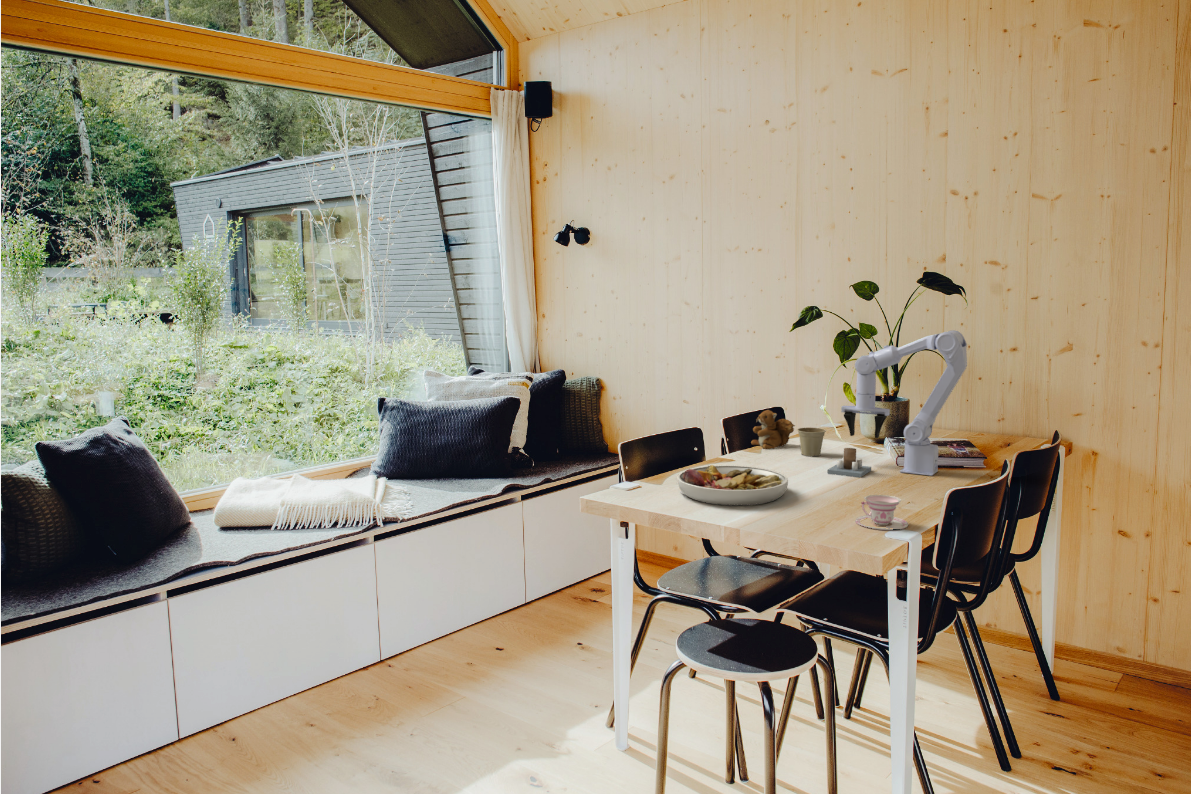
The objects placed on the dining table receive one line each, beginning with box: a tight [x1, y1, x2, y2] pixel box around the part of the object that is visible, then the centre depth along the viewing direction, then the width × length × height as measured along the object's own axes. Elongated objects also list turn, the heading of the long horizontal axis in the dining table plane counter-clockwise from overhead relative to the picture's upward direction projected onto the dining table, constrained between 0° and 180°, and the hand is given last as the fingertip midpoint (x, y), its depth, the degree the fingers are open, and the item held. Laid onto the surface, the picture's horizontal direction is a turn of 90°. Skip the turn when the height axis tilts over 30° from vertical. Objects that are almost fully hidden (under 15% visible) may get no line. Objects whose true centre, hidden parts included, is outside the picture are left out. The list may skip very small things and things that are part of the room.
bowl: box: [676, 464, 789, 506], centre depth 227 cm, size 30×30×8 cm
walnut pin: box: [843, 447, 857, 470], centre depth 251 cm, size 4×4×6 cm
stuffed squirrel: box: [750, 409, 796, 450], centre depth 293 cm, size 10×14×13 cm
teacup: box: [855, 494, 909, 531], centre depth 197 cm, size 12×12×6 cm
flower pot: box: [796, 426, 827, 457], centre depth 277 cm, size 9×9×9 cm
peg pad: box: [827, 457, 872, 478], centre depth 252 cm, size 10×11×4 cm
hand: (864, 436), depth 259 cm, fingers open, 7 cm apart
